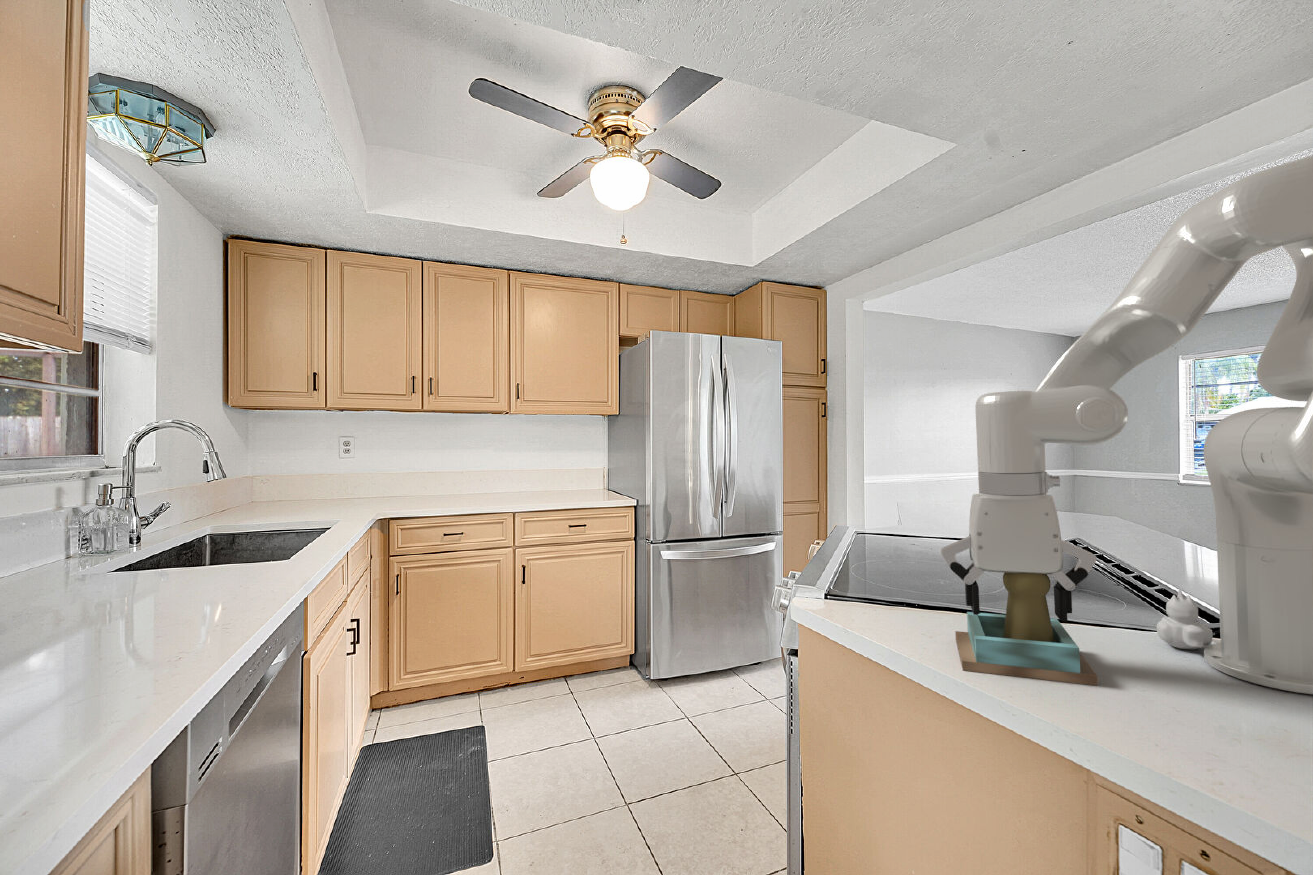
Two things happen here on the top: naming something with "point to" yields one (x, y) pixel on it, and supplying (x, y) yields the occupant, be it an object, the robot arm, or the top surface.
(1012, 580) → the cork
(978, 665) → the board
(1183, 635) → the rubber duck
